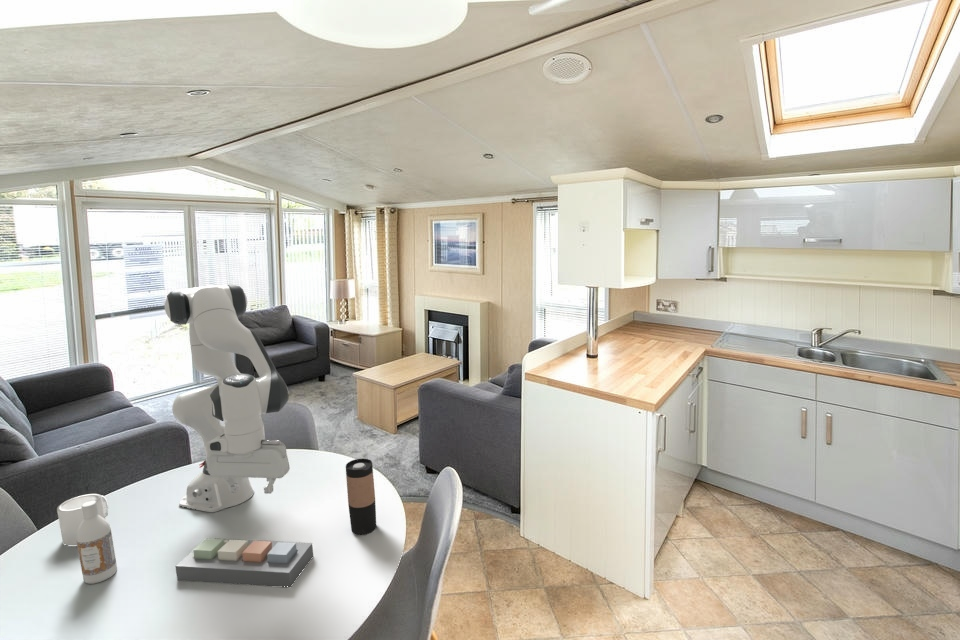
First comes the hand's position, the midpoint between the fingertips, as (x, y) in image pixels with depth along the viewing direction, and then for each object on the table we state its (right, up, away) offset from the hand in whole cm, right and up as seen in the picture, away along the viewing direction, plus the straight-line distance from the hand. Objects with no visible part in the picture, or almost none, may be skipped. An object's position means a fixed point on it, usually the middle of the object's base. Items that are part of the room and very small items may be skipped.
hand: (251, 492), depth 124 cm
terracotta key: (0, -19, +3) cm, 19 cm away
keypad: (-3, -21, +4) cm, 22 cm away
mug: (-59, -20, +22) cm, 66 cm away
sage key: (-13, -19, +5) cm, 24 cm away
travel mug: (+24, -18, +20) cm, 36 cm away
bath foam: (-40, -23, +3) cm, 46 cm away
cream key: (-6, -19, +4) cm, 20 cm away
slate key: (+7, -19, +2) cm, 20 cm away
